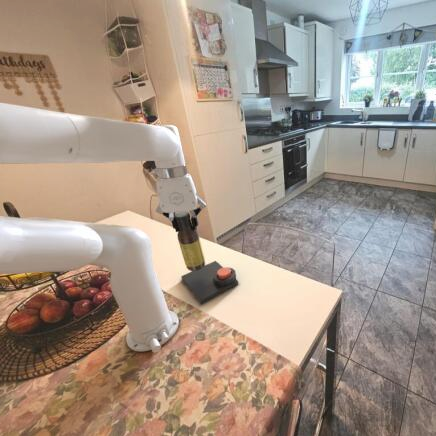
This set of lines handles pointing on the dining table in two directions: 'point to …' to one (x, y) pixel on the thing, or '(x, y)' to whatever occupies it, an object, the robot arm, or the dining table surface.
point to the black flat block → (208, 282)
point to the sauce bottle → (189, 243)
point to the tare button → (224, 273)
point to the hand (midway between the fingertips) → (186, 228)
